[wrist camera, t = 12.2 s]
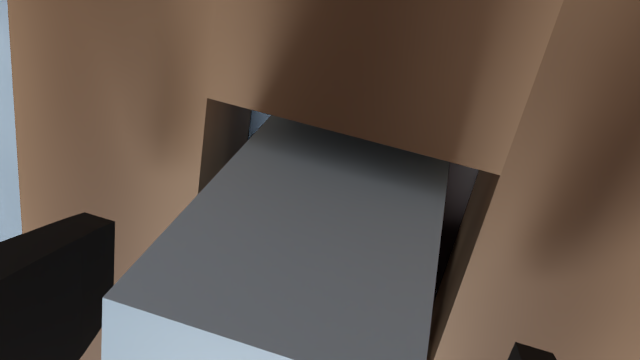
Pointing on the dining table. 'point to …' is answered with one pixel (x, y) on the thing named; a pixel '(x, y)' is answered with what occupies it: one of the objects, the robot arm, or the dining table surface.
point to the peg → (291, 257)
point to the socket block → (363, 135)
